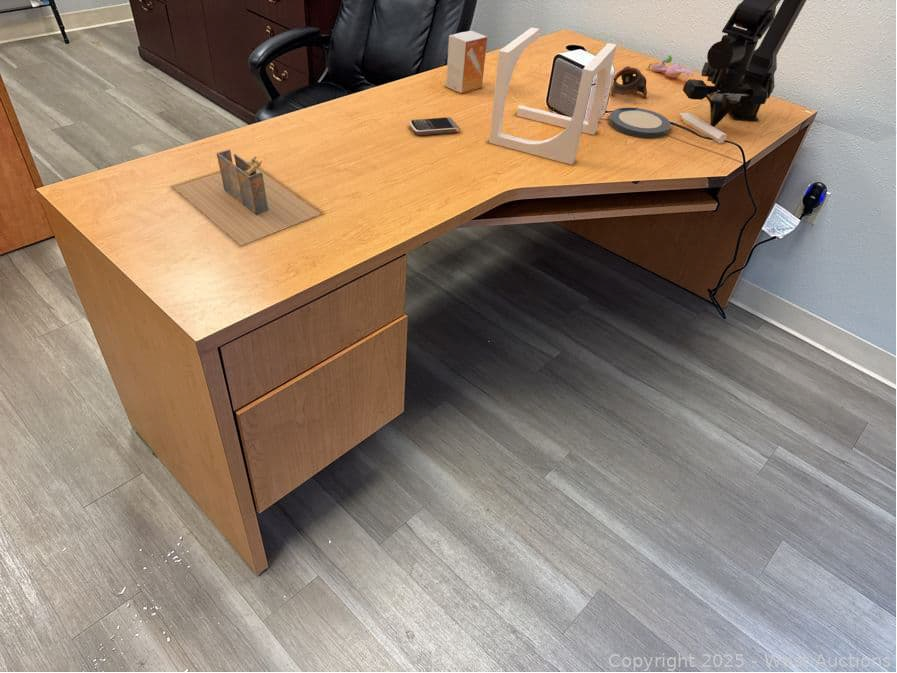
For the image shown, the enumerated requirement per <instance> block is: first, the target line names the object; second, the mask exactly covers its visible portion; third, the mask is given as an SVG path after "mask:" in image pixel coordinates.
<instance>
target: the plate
mask: <svg viewBox="0 0 897 673" xmlns="http://www.w3.org/2000/svg"><path fill="white" fill-rule="evenodd" d="M608 124H609V125H610V127H611V128H613V129H614V130H615V131H617V132H620V133H622V134H624V135H627V136H631V137H635V138H641V139H657V138H662V137H665V136H667V135H668V134H669V132H670V129H671V126H672V124H671V122H670V120H669V119H668V118H667V117H666V116H664V115H662V114H661V113H658V112H656V111H652V110H649V109H645V108H639V107H620V108H616V109H614V110H612V111H611V112H610V113H609V117H608Z"/></svg>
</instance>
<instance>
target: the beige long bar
mask: <svg viewBox="0 0 897 673" xmlns="http://www.w3.org/2000/svg"><path fill="white" fill-rule="evenodd" d="M678 115H679V116H680V117H681V119H682V122H683V123H684V124H686V125H688V126H690V127H691V128H693V129H695V130H696V131H698V132H700V133H701V134H703V135H705V136H707V137H708V138H710V139H712V140H713V141H715V142H716V143H718V144H721V143H724V142H725V141H726V139H727V134H726V133H725V132H723V131H722V130H720V129H718V128H716V126H715V127H713V126H711V125H710V123H708V122H706V121H704V120H703V119H701V118H699V117H697V115H694V114H692V113H691V112H685V113H683V112H682V113H681V112H680V113H679V112H678Z"/></svg>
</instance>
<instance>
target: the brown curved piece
mask: <svg viewBox="0 0 897 673" xmlns="http://www.w3.org/2000/svg"><path fill="white" fill-rule="evenodd" d="M619 78H621V81H622V84H621V83H619V82H617V81H618V79H619ZM638 93H640V94H641V93H642V95H643V96H644V97H643V98H644V99H647V94H648V89H647V78H646V76H645V75H644V74H643V73H642V72H641V70H640V69H639V68H637V67H631V66H628V65H627V66H625V67H623V69H621V70H619V71H618V72H616V74H615V75H614V76H613V81H612V85H611V87H610V94H611V96H614V95H619V96H624V95H629V94H636V95H637V94H638Z"/></svg>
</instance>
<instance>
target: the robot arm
mask: <svg viewBox="0 0 897 673" xmlns="http://www.w3.org/2000/svg"><path fill="white" fill-rule="evenodd" d="M781 1H782V0H742V1H741V2H740V3H739V4H737V6H736V8H735V9H734V11H733V12H732V14H731V15H730V17H729V19H728V21H727V22H726V23H725V25H724V27H723V28H722V30H721V33H722V34H724V35H722V37H721V39H720V41H716V42H715V43H713V44H712V45H711V46H710V48H709V49H708V51H707V54H706V60H707V61H706V62H704V64H703V67H702V69H701V74H700V75H701V77H706V78H707V79H706V81H707V82H710V83H711V84H712V85H707V84H706V83H705V82H704V80H703V79H691V78H690V79H688V80H687V81H685V82H684V85H683V88H682V91H683V93H684V95H685V96H686V98H688V99H690V100H700V101H702V100H704V99H705V98H706V100H707V101H708V102H709V107H710V114H709V116H710V117H709V124H710V125H711V126H713V127H715V128H716V126H717V125H718V124H719V123H720V122H721V121H722V120H723V119H724V118H725V117H726V116H727V115H728V114H729V115H730V116H731V118H732V119H733V120H740V121H741V120H742V121H759V118H758V116H757V115H758V113H759V110H760V108H761V106H762V105H765V104H766V102H767V100H768V99H770V97H771V94H772V93H773V91H774V89H775V73H776V71H777V68H778V63H777V60H778V58H777V56H778V53H779V51H780V50H781V48H782V46H783V44H784V42H785V41H786V39H787V37H788V35H789V34H790V31H791V30H792V28H793V26H794V24H795V23H796V20H797V18H798V17H799V15H800V13H801V12H802V10H803V8H804V6H805V4H806V2H807V0H783V1H782V3H781V4H780V6H779V9H778V10H777V6H778V5H779V3H780V2H781ZM763 36H764V37H763ZM762 37H763V38H762ZM761 39H762V40H761ZM759 40H761V42H760V44H759V46H758V42H759ZM757 46H758V47H757Z"/></svg>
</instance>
